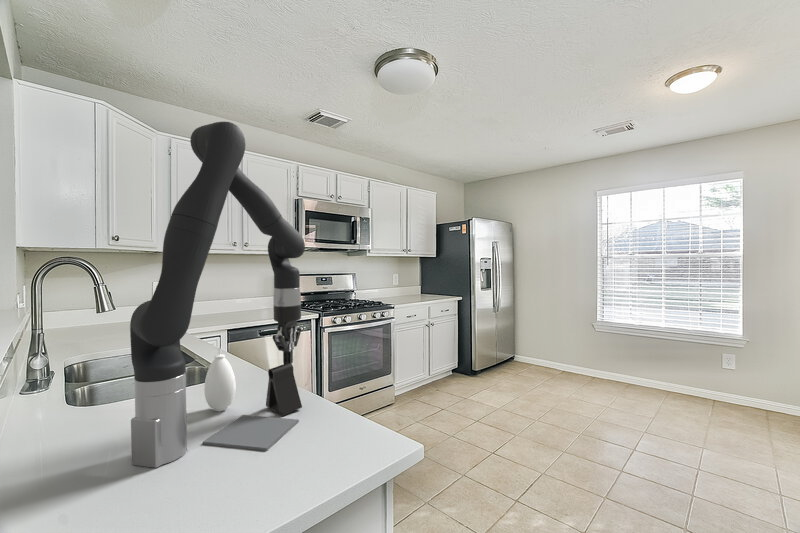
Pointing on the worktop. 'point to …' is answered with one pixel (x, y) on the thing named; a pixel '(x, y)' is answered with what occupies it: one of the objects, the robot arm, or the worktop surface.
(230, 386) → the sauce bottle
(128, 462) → the worktop surface
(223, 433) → the rubber mat
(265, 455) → the worktop surface
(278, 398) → the phone stand
